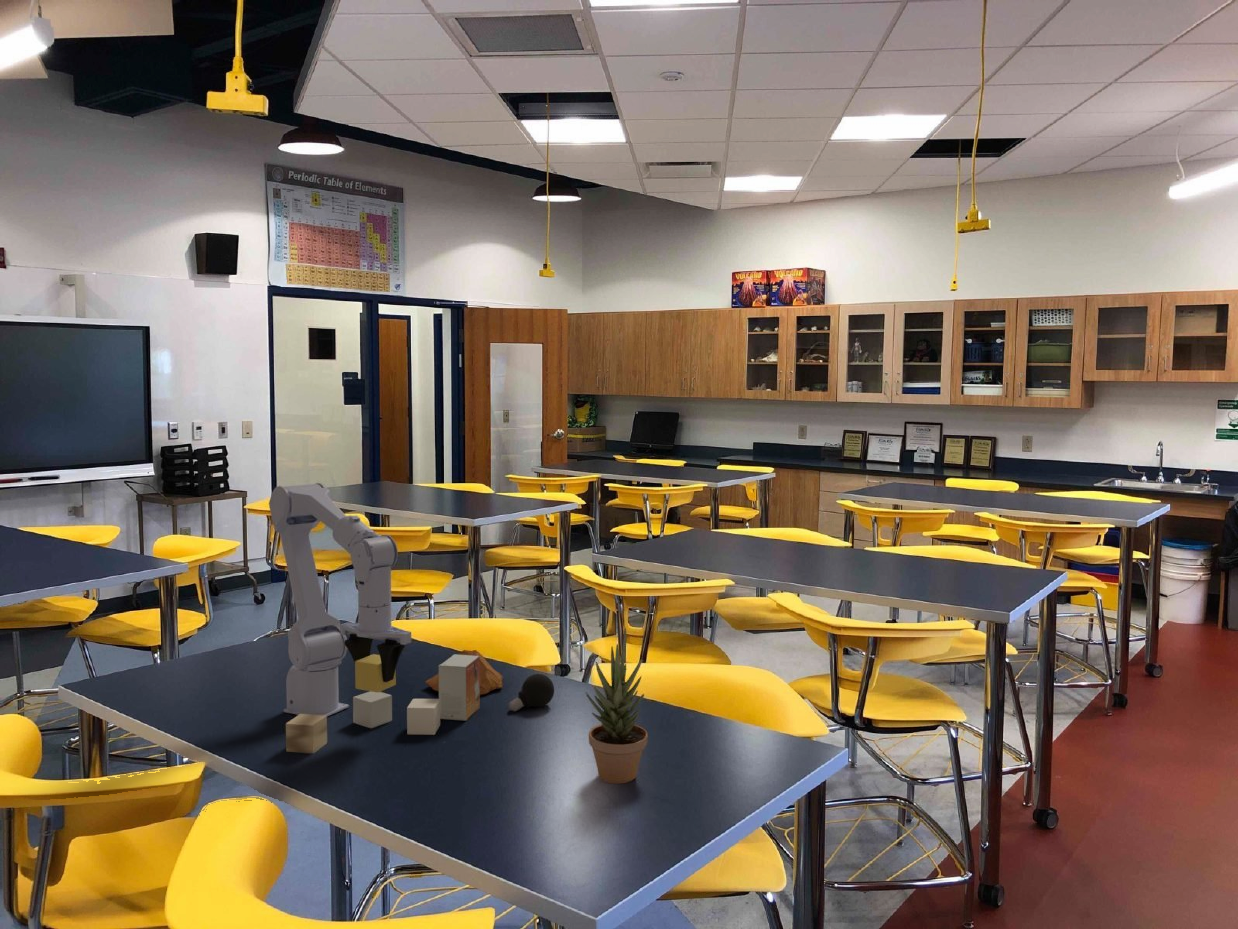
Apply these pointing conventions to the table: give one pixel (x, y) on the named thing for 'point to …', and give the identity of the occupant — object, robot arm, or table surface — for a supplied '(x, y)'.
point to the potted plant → (617, 724)
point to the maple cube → (306, 733)
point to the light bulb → (534, 692)
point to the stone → (487, 675)
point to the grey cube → (372, 709)
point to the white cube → (423, 716)
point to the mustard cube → (371, 674)
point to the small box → (459, 687)
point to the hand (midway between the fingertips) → (375, 678)
